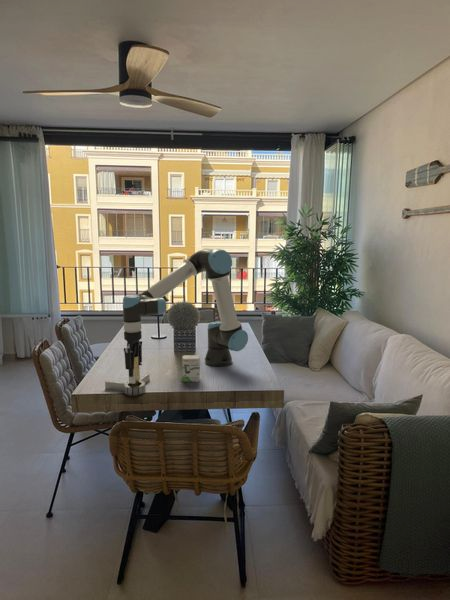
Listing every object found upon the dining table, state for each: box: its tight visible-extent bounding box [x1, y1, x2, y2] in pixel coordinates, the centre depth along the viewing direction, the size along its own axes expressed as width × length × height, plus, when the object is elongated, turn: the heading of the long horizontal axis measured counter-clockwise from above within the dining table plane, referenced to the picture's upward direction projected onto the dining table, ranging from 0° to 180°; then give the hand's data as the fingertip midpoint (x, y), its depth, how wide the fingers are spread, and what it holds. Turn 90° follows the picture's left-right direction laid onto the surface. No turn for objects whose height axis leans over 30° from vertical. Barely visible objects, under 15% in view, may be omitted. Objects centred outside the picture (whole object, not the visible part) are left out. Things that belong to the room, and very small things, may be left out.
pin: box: [130, 356, 140, 387], centre depth 175 cm, size 4×4×16 cm
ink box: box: [181, 354, 201, 383], centre depth 190 cm, size 9×5×12 cm, turn 94°
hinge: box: [104, 373, 151, 396], centre depth 182 cm, size 19×19×4 cm
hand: (134, 381), depth 176 cm, fingers closed on pin, 4 cm apart
